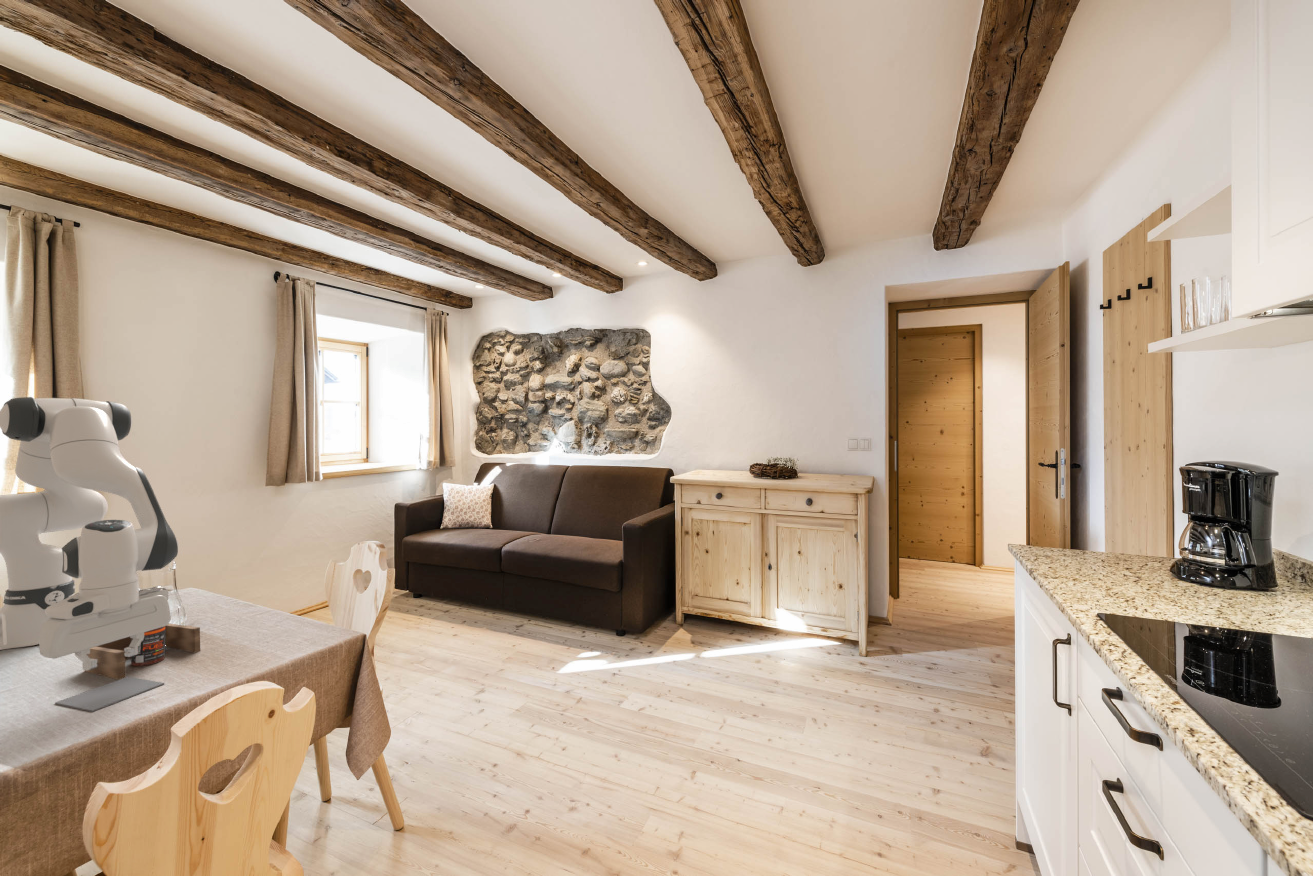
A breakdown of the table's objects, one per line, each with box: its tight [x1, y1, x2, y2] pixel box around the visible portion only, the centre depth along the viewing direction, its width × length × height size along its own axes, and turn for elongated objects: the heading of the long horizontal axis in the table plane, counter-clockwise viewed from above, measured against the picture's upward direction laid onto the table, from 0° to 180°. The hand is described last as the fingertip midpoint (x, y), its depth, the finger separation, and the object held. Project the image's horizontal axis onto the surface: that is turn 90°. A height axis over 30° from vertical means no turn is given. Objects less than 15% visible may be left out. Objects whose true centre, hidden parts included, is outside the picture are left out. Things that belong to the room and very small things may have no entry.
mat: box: [54, 676, 165, 713], centre depth 112 cm, size 12×12×1 cm
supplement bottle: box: [130, 626, 166, 667], centre depth 127 cm, size 6×6×11 cm
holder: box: [84, 622, 201, 680], centre depth 128 cm, size 12×16×6 cm
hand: (111, 662), depth 112 cm, fingers open, 5 cm apart
